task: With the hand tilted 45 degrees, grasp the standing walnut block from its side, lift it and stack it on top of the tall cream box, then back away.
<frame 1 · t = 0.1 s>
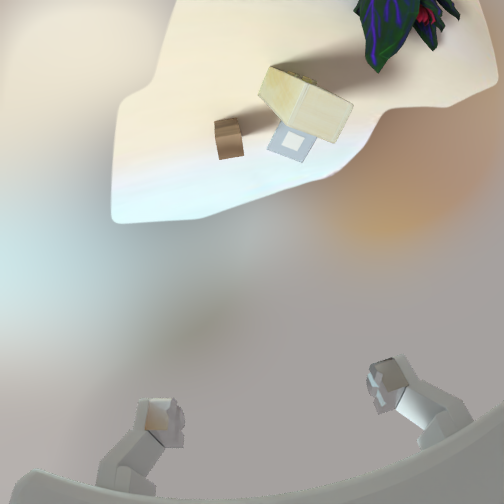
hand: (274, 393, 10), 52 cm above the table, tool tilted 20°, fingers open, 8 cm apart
walnut block: (227, 129, 53), on the table
instruction page: (297, 133, 55), on the table
decorative plant: (381, 6, 34), on the table
tall cream box: (282, 85, 47), on the table, touching instruction page
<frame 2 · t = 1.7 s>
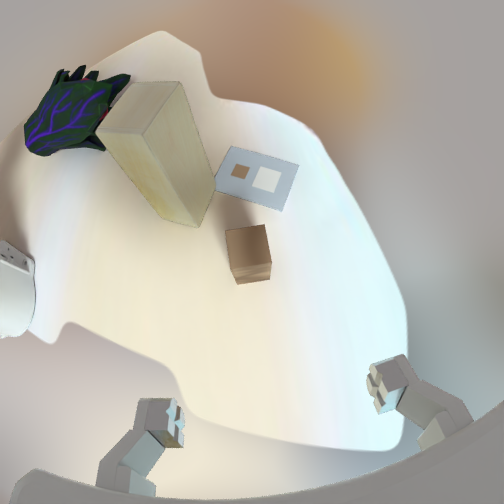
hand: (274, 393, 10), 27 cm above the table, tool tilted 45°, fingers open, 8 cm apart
walnut block: (250, 266, 40), on the table
instruction page: (255, 176, 44), on the table
decorative plant: (101, 131, 50), on the table
tall cream box: (187, 201, 43), on the table, touching instruction page
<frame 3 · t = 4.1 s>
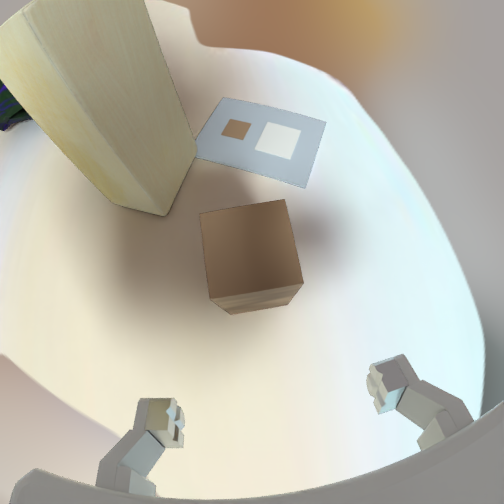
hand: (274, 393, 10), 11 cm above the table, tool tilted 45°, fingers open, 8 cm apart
walnut block: (254, 282, 22), on the table
instruction page: (259, 136, 27), on the table
decorative plant: (58, 99, 33), on the table
tall cream box: (152, 175, 26), on the table, touching instruction page
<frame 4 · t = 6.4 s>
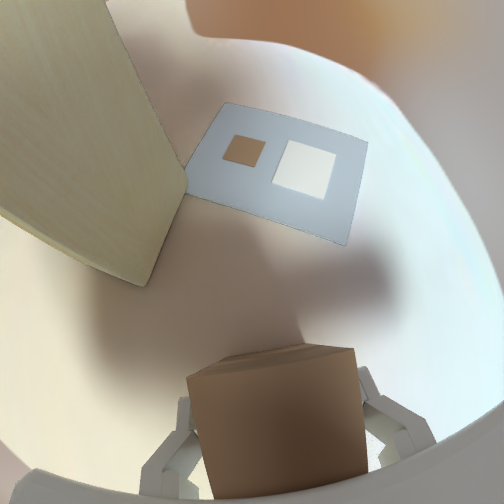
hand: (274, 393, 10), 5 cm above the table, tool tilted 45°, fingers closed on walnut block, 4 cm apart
walnut block: (273, 387, 15), on the table, touching gripper
instruction page: (277, 161, 19), on the table
tall cream box: (127, 220, 18), on the table, touching instruction page
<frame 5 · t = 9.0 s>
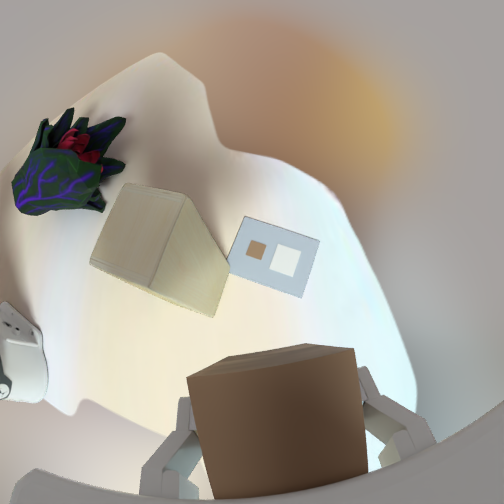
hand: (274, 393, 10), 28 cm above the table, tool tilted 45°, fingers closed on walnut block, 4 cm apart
walnut block: (273, 387, 15), point 23 cm above the table, touching gripper
instruction page: (272, 256, 41), on the table
decorative plant: (97, 184, 47), on the table
tall cream box: (199, 284, 41), on the table, touching instruction page
when the fingers open (28 cm above the table, at t = 11.6 s): walnut block drops 2 cm, resting on tall cream box.
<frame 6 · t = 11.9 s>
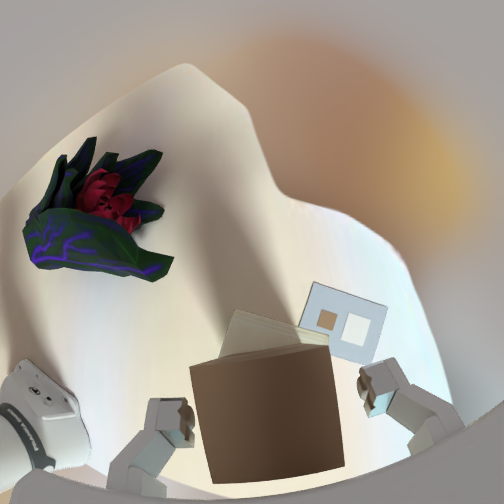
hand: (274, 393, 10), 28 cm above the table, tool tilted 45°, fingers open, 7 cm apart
walnut block: (271, 383, 16), point 21 cm above the table, touching tall cream box
instruction page: (343, 325, 37), on the table
decorative plant: (129, 231, 43), on the table
tall cream box: (268, 358, 36), on the table, touching instruction page, walnut block
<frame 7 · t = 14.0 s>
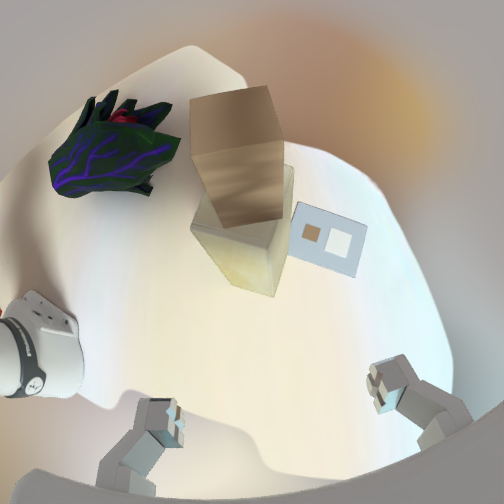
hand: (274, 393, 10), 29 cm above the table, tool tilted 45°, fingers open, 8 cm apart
walnut block: (248, 197, 22), point 21 cm above the table, touching tall cream box
instruction page: (326, 238, 43), on the table
decorative plant: (140, 169, 49), on the table
tall cream box: (258, 266, 42), on the table, touching instruction page, walnut block
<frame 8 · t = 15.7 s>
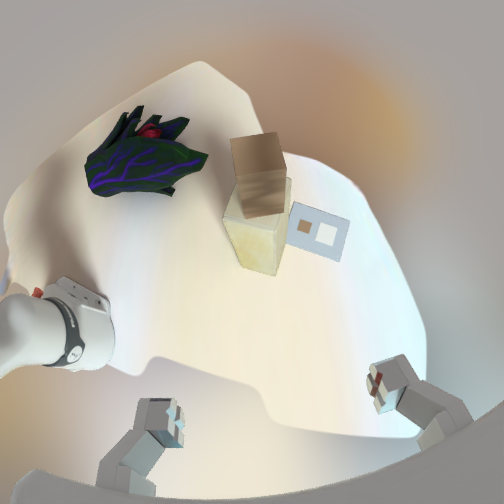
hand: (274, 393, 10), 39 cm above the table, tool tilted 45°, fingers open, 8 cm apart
walnut block: (261, 199, 33), point 21 cm above the table, touching tall cream box
instruction page: (316, 231, 54), on the table
decorative plant: (162, 173, 60), on the table
tall cream box: (262, 252, 53), on the table, touching instruction page, walnut block
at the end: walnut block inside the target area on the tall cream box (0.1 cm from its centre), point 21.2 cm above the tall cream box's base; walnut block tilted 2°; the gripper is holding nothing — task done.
